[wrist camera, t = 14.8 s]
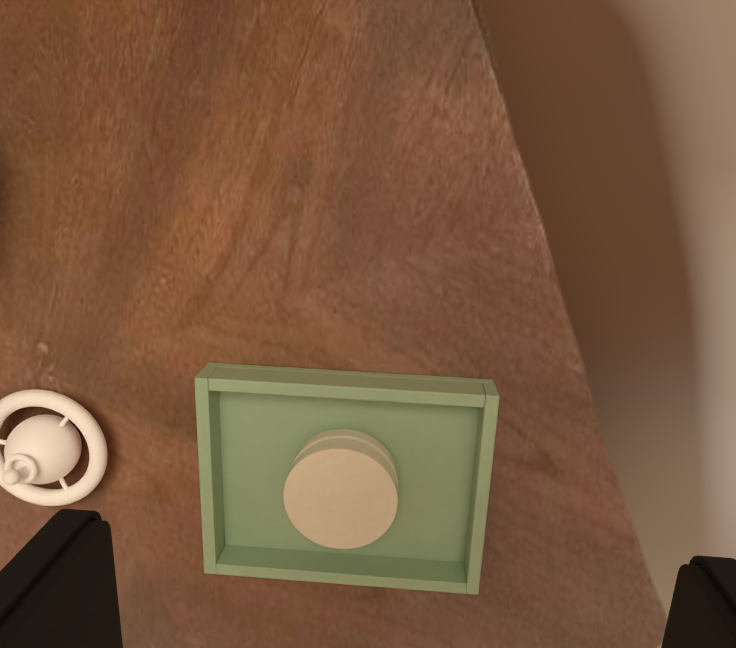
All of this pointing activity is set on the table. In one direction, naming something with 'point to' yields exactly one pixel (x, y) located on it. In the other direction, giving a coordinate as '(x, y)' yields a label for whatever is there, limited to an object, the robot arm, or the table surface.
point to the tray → (361, 413)
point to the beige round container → (342, 489)
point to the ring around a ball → (49, 449)
